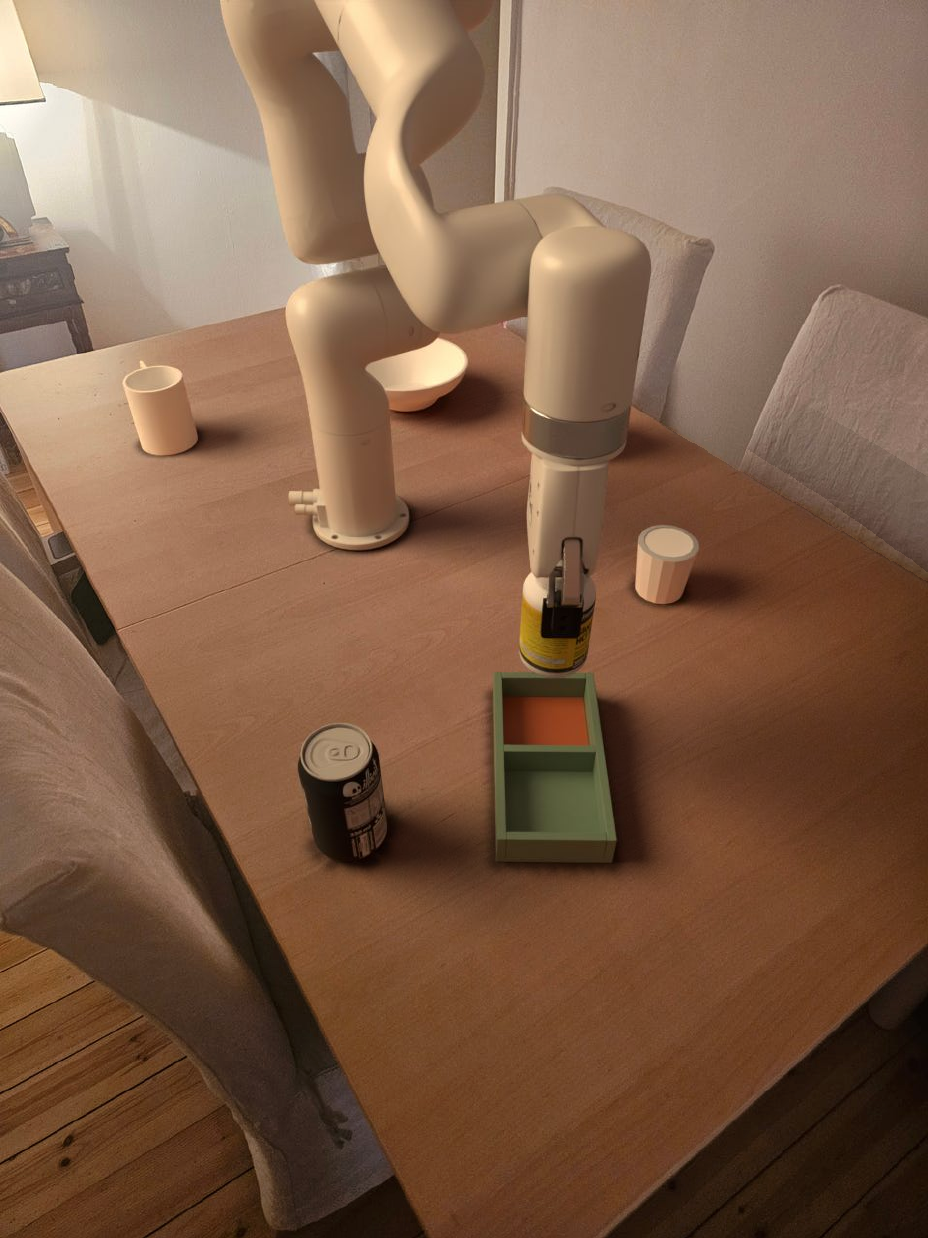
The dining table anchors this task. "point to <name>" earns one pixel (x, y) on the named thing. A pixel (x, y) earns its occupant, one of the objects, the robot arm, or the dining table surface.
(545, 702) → the tray
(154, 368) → the cup
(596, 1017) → the dining table surface
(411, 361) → the bowl
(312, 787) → the beverage can
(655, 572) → the cream faceted tub
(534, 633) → the pill bottle
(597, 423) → the robot arm
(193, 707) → the dining table surface
